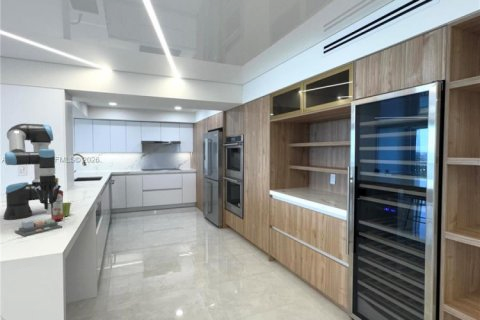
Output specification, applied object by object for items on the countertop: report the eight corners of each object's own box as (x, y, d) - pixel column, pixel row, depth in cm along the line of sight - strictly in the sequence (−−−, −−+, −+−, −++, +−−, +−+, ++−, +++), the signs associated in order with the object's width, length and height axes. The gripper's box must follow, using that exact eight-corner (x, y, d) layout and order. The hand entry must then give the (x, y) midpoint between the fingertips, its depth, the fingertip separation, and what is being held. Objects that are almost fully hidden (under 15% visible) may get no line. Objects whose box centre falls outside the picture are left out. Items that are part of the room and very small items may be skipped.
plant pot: (54, 218, 172) (53, 205, 172) (56, 215, 181) (56, 203, 180) (70, 216, 177) (70, 204, 176) (72, 213, 185) (72, 201, 185)
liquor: (53, 222, 162) (51, 179, 161) (48, 221, 166) (46, 178, 165) (66, 220, 168) (64, 177, 167) (60, 218, 172) (59, 177, 171)
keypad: (14, 232, 143) (14, 227, 143) (51, 224, 159) (51, 219, 158) (24, 236, 137) (24, 231, 136) (62, 227, 152) (61, 222, 152)
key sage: (43, 226, 151) (43, 220, 151) (51, 224, 155) (51, 219, 155) (47, 227, 149) (46, 221, 149) (54, 225, 153) (54, 220, 153)
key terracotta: (33, 228, 147) (33, 222, 147) (41, 226, 150) (41, 221, 150) (36, 229, 145) (36, 223, 145) (44, 227, 148) (44, 222, 148)
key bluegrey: (21, 227, 142) (21, 221, 142) (30, 225, 146) (30, 220, 146) (25, 228, 140) (24, 222, 140) (33, 226, 144) (33, 221, 144)
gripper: (37, 176, 143) (38, 217, 145) (62, 174, 154) (64, 212, 156) (31, 175, 147) (32, 215, 148) (56, 173, 158) (58, 211, 160)
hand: (48, 214), depth 152 cm, fingers closed
